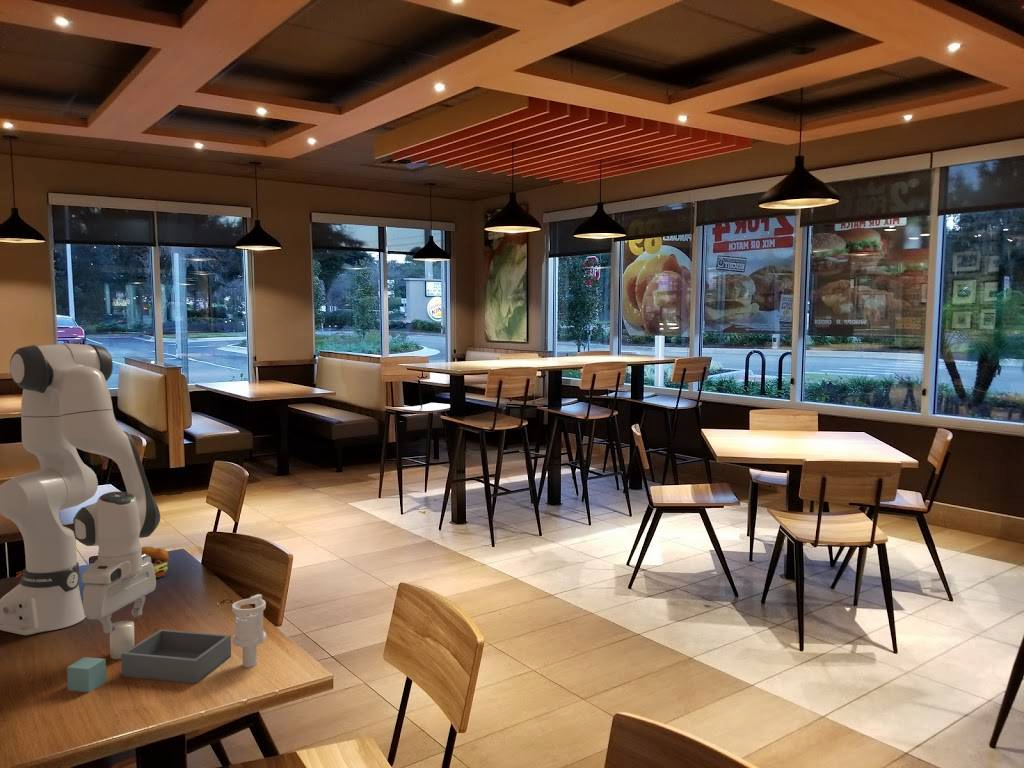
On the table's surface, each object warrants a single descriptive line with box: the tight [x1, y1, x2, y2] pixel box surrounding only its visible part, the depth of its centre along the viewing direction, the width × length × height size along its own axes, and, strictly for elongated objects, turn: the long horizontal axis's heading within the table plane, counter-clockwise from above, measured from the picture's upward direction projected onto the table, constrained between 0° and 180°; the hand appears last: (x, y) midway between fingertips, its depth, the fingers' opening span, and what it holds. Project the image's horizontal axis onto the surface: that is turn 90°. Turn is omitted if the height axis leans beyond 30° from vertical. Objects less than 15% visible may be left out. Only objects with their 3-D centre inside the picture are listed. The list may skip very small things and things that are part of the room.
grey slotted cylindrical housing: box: [231, 593, 267, 668], centre depth 171 cm, size 7×7×15 cm
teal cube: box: [66, 656, 107, 693], centre depth 161 cm, size 5×5×5 cm
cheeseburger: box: [141, 545, 171, 578], centre depth 231 cm, size 10×11×10 cm
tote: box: [121, 628, 232, 684], centre depth 170 cm, size 18×14×5 cm
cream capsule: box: [109, 620, 136, 660], centre depth 176 cm, size 5×5×7 cm
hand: (123, 623), depth 175 cm, fingers open, 8 cm apart
